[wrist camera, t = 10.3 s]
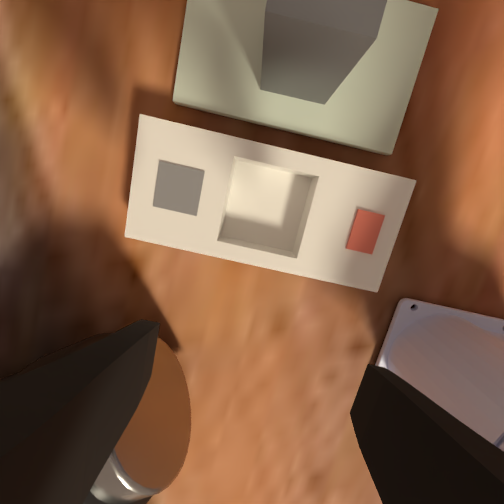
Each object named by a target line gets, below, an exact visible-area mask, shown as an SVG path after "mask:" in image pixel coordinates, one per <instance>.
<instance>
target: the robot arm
mask: <svg viewBox="0 0 504 504" xmlns="http://www.w3.org/2000/svg"><path fill="white" fill-rule="evenodd" d="M413 304H415V306H414V308H412V309H411V306H412V305H413ZM159 326H160V323H158V322H153V321H148V320H143V319H141V320H139V321H137V322H135V323H133V324H131V325H129V326H127V327H125V328H123V329H121V330H119V331H117V332H115V333H113V334H111V335H109V336H107V337H105V338H103V339H101V340H99V341H97V342H95V343H93V344H91V345H89V346H87V347H85V348H83V349H81V350H78V351H76V352H74V353H72V354H70V355H67V356H65V357H63V358H61V359H58V360H56V361H54V362H52V363H49V364H47V365H45V366H42V367H40V368H37V369H35V370H32V371H30V372H27V373H25V374H22V375H19V376H16V377H14V378H11V379H8V380H5V381H3V382H0V504H83V503H84V501H85V499H86V497H87V495H88V493H89V491H90V490H91V488H92V486H93V484H94V482H95V481H96V479H97V477H98V475H99V474H100V472H101V470H102V469H103V467H104V465H105V463H106V462H107V460H108V458H109V456H110V455H111V453H112V451H113V449H114V448H115V446H116V444H117V443H118V441H119V439H120V437H121V436H122V434H123V432H124V430H125V429H126V427H127V425H128V423H129V422H130V420H131V418H132V416H133V415H134V413H135V411H136V409H137V407H138V405H139V403H140V401H141V399H142V397H143V394H144V392H145V390H146V387H147V385H148V383H149V380H150V378H151V375H152V369H153V363H154V357H155V351H156V345H157V338H158V332H159ZM503 326H504V319H500V318H496V317H491V316H487V315H482V314H478V313H473V312H469V311H464V310H460V309H455V308H450V307H446V306H441V305H437V304H432V303H428V302H423V301H419V300H414V299H410V298H403V299H401V300H400V301H399V303H398V305H397V308H396V311H395V313H394V316H393V319H392V321H391V324H390V327H389V329H388V332H387V335H386V337H385V340H384V343H383V346H382V348H381V351H380V354H379V356H378V359H377V362H376V364H375V365H370V364H368V365H367V368H366V370H365V373H364V376H363V379H362V381H361V384H360V387H359V389H358V392H357V395H356V398H355V400H354V403H353V406H352V409H351V411H350V415H351V419H352V423H353V427H354V431H355V434H356V437H357V441H358V444H359V447H360V449H361V452H362V455H363V457H364V459H365V462H366V464H367V467H368V469H369V472H370V474H371V477H372V479H373V481H374V484H375V486H376V489H377V491H378V493H379V496H380V498H381V501H382V503H383V504H504V327H503Z"/></svg>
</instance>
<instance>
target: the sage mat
mask: <svg viewBox="0 0 504 504" xmlns="http://www.w3.org/2000/svg"><path fill="white" fill-rule="evenodd" d="M266 3H267V0H187V6H186V12H185V19H184V26H183V33H182V40H181V46H180V53H179V60H178V67H177V74H176V80H175V87H174V94H173V102H174V103H175V104H177V105H181V106H185V107H189V108H193V109H197V110H202V111H206V112H210V113H214V114H218V115H222V116H226V117H230V118H234V119H239V120H243V121H247V122H251V123H255V124H259V125H263V126H267V127H271V128H276V129H280V130H284V131H288V132H292V133H296V134H300V135H304V136H308V137H313V138H317V139H321V140H325V141H329V142H333V143H337V144H341V145H345V146H350V147H354V148H358V149H362V150H366V151H370V152H374V153H378V154H382V155H387V156H388V155H391V154H392V152H393V149H394V146H395V143H396V140H397V137H398V134H399V131H400V127H401V124H402V121H403V118H404V115H405V112H406V109H407V106H408V103H409V100H410V96H411V93H412V90H413V87H414V84H415V81H416V78H417V75H418V72H419V69H420V66H421V62H422V59H423V56H424V53H425V50H426V47H427V44H428V41H429V38H430V35H431V31H432V28H433V25H434V22H435V19H436V16H437V13H438V10H439V9H438V8H434V7H430V6H427V5H423V4H419V3H416V2H412V1H408V0H387V3H386V7H385V10H384V14H383V18H382V21H381V25H380V29H379V32H378V36H377V39H376V40H375V41H374V43H373V44H372V45H371V46H370V48H369V49H368V50H367V52H366V53H365V54H364V55H363V57H362V58H361V59H360V60H359V62H358V63H357V64H356V65H355V67H354V68H353V69H352V71H351V72H350V73H349V74H348V76H347V77H346V78H345V79H344V81H343V82H342V83H341V84H340V86H339V87H338V88H337V90H336V91H335V92H334V93H333V95H332V96H331V97H330V98H329V100H328V101H327V102H326V104H325V105H324V104H319V103H315V102H311V101H306V100H302V99H298V98H294V97H289V96H285V95H281V94H276V93H272V92H268V91H264V90H260V87H261V70H262V53H263V36H264V19H265V8H266Z"/></svg>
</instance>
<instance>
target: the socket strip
mask: <svg viewBox="0 0 504 504" xmlns="http://www.w3.org/2000/svg"><path fill="white" fill-rule="evenodd" d="M416 181H417V180H413V179H409V178H405V177H400V176H396V175H392V174H388V173H384V172H380V171H375V170H371V169H367V168H363V167H359V166H355V165H350V164H346V163H342V162H338V161H334V160H330V159H326V158H321V157H317V156H313V155H309V154H305V153H301V152H296V151H292V150H288V149H284V148H280V147H276V146H271V145H267V144H263V143H259V142H255V141H251V140H247V139H242V138H238V137H234V136H230V135H226V134H222V133H217V132H213V131H209V130H205V129H201V128H197V127H192V126H188V125H184V124H180V123H176V122H172V121H168V120H163V119H159V118H155V117H151V116H147V115H143V114H140V116H139V124H138V132H137V140H136V148H135V156H134V164H133V173H132V181H131V189H130V197H129V205H128V213H127V221H126V229H125V237H128V238H132V239H137V240H141V241H146V242H151V243H155V244H160V245H164V246H169V247H173V248H178V249H182V250H187V251H191V252H196V253H200V254H205V255H209V256H214V257H218V258H223V259H227V260H232V261H236V262H241V263H245V264H250V265H254V266H259V267H264V268H268V269H273V270H277V271H282V272H286V273H291V274H295V275H300V276H304V277H309V278H313V279H318V280H322V281H327V282H331V283H336V284H340V285H345V286H349V287H354V288H358V289H363V290H368V291H372V292H378V290H379V287H380V284H381V281H382V278H383V275H384V272H385V270H386V267H387V264H388V261H389V258H390V255H391V252H392V249H393V247H394V244H395V241H396V238H397V235H398V232H399V229H400V227H401V224H402V221H403V218H404V215H405V212H406V209H407V207H408V204H409V201H410V198H411V195H412V192H413V189H414V187H415V184H416Z"/></svg>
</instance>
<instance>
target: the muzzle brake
mask: <svg viewBox="0 0 504 504" xmlns="http://www.w3.org/2000/svg"><path fill="white" fill-rule="evenodd" d="M111 334H113V333H103V334H98V335H95V336H92V337H90V338H87V339H85V340H82V341H80V342H78V343H75V344H73V345H71V346H68V347H66V348H63V349H61V350H59V351H56V352H54V353H52V354H49V355H47V356H44V357H42V358H40V359H39V360H37V361H35V362H34V363H32V364H31V365H29V366H27V367H26V368H25V369H24V370H22V371H21V372H19V373H16V374H14V375H11V376H9V377H6V378H4V379H2V380H0V382H3V381H5V380H8V379H11V378H14V377H16V376H19V375H22V374H25V373H27V372H30V371H32V370H35V369H37V368H40V367H42V366H45V365H47V364H49V363H52V362H54V361H56V360H58V359H61V358H63V357H65V356H67V355H70V354H72V353H74V352H76V351H78V350H81V349H83V348H85V347H87V346H89V345H91V344H93V343H95V342H97V341H99V340H101V339H103V338H105V337H107V336H109V335H111ZM190 433H191V406H190V398H189V392H188V387H187V383H186V379H185V376H184V373H183V370H182V367H181V365H180V363H179V361H178V359H177V357H176V355H175V354H174V352H173V351H172V349H171V348H170V347H169V346H168V345H167V344H166V343H165V342H164V341H163V340H162V339H161V338H159V337H158V338H157V345H156V351H155V357H154V363H153V369H152V375H151V378H150V380H149V383H148V385H147V387H146V390H145V392H144V394H143V397H142V399H141V401H140V403H139V405H138V407H137V409H136V411H135V413H134V415H133V416H132V418H131V420H130V422H129V423H128V425H127V427H126V429H125V430H124V432H123V434H122V436H121V437H120V439H119V441H118V443H117V444H116V446H115V448H114V449H113V451H112V453H111V455H110V456H109V458H108V460H107V462H106V463H105V465H104V467H103V469H102V470H101V472H100V474H99V475H98V477H97V479H96V481H95V482H94V484H93V486H92V488H91V490H90V491H89V493H88V495H87V497H86V499H85V501H84V503H83V504H146V503H147V502H148V501H149V500H150V498H151V497H152V496H153V495H155V494H158V493H160V492H161V491H163V490H164V489H166V488H167V487H168V486H169V485H170V484H171V483H172V482H173V481H174V479H175V478H176V477H177V476H178V474H179V472H180V470H181V468H182V466H183V464H184V461H185V458H186V455H187V452H188V447H189V441H190Z"/></svg>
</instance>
